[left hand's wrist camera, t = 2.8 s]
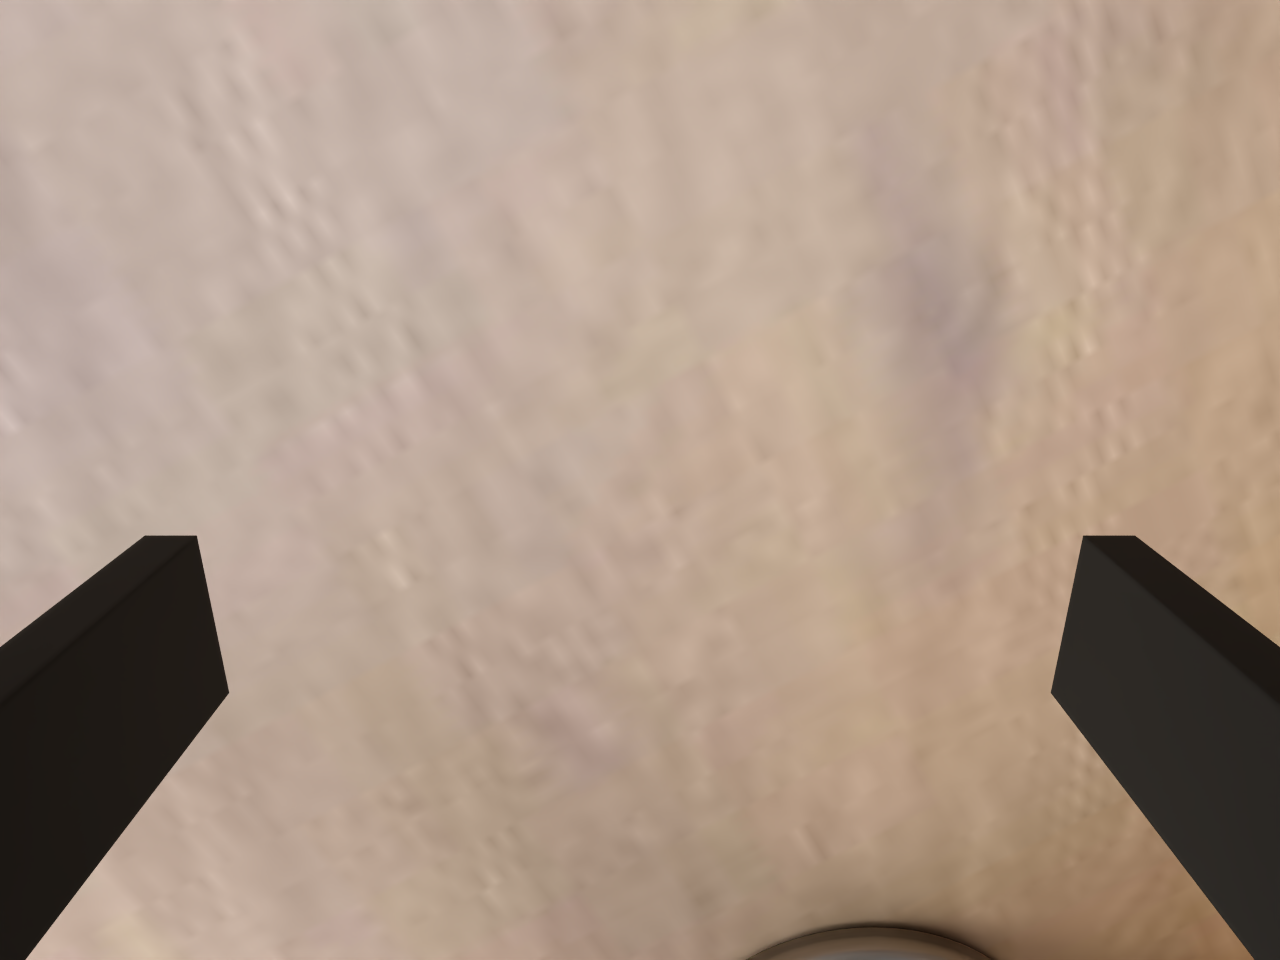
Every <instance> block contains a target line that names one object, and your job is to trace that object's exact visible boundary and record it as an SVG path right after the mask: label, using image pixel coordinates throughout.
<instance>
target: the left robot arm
mask: <svg viewBox="0 0 1280 960" xmlns="http://www.w3.org/2000/svg"><path fill="white" fill-rule="evenodd" d="M228 694H229V690H228V685H227V680H226V675H225V670H224V666H223V661H222V656H221V651H220V646H219V641H218V637H217V632H216V627H215V622H214V617H213V612H212V607H211V603H210V598H209V593H208V588H207V583H206V578H205V573H204V569H203V564H202V559H201V554H200V549H199V544H198V540H197V536H144V537H143V538H141V539H140V540H139V541H137V542H136V543H135V544H134V545H132V546H131V547H130V548H128V549H127V550H126V551H124V552H123V553H122V554H121V555H119V556H118V557H117V558H115V559H114V560H113V561H111V562H110V563H109V564H108V565H106V566H105V567H104V568H102V569H101V570H100V571H98V572H97V573H96V574H95V575H93V576H92V577H91V578H89V579H88V580H87V581H85V582H84V583H83V584H82V585H80V586H79V587H78V588H76V589H75V590H74V591H73V592H71V593H70V594H69V595H67V596H66V597H65V598H63V599H62V600H61V601H60V602H58V603H57V604H56V605H54V606H53V607H52V608H50V609H49V610H48V611H47V612H45V613H44V614H43V615H41V616H40V617H39V618H37V619H36V620H35V621H34V622H32V623H31V624H30V625H28V626H27V627H26V628H24V629H23V630H22V631H21V632H19V633H18V634H17V635H15V636H14V637H13V638H11V639H10V640H9V641H8V642H6V643H5V644H4V645H2V646H1V647H0V960H26V958H27V957H28V956H29V954H30V953H31V952H32V950H33V949H34V948H35V946H36V945H37V944H38V942H39V941H40V940H41V939H42V937H43V936H44V935H45V933H46V932H47V931H48V929H49V928H50V927H51V925H52V924H53V923H54V922H55V920H56V919H57V918H58V916H59V915H60V914H61V912H62V911H63V910H64V908H65V907H66V906H67V905H68V903H69V902H70V901H71V899H72V898H73V897H74V895H75V894H76V893H77V891H78V890H79V889H80V887H81V886H82V885H83V884H84V882H85V881H86V880H87V878H88V877H89V876H90V874H91V873H92V872H93V870H94V869H95V868H96V867H97V865H98V864H99V863H100V861H101V860H102V859H103V857H104V856H105V855H106V853H107V852H108V851H109V849H110V848H111V847H112V846H113V844H114V843H115V842H116V840H117V839H118V838H119V836H120V835H121V834H122V832H123V831H124V830H125V829H126V827H127V826H128V825H129V823H130V822H131V821H132V819H133V818H134V817H135V815H136V814H137V813H138V811H139V810H140V809H141V808H142V806H143V805H144V804H145V802H146V801H147V800H148V798H149V797H150V796H151V794H152V793H153V792H154V791H155V789H156V788H157V787H158V785H159V784H160V783H161V781H162V780H163V779H164V777H165V776H166V775H167V773H168V772H169V771H170V770H171V768H172V767H173V766H174V764H175V763H176V762H177V760H178V759H179V758H180V756H181V755H182V754H183V753H184V751H185V750H186V749H187V747H188V746H189V745H190V743H191V742H192V741H193V739H194V738H195V737H196V735H197V734H198V733H199V732H200V730H201V729H202V728H203V726H204V725H205V724H206V722H207V721H208V720H209V718H210V717H211V716H212V715H213V713H214V712H215V711H216V709H217V708H218V707H219V705H220V704H221V703H222V701H223V700H224V699H225V697H226V696H227V695H228ZM1051 694H1052V695H1053V696H1054V697H1055V699H1056V700H1057V701H1058V703H1059V704H1060V705H1061V707H1062V708H1063V709H1064V711H1065V712H1066V713H1067V715H1068V716H1069V717H1070V718H1071V720H1072V721H1073V722H1074V724H1075V725H1076V726H1077V728H1078V729H1079V730H1080V732H1081V733H1082V734H1083V735H1084V737H1085V738H1086V739H1087V741H1088V742H1089V743H1090V745H1091V746H1092V747H1093V749H1094V750H1095V751H1096V753H1097V754H1098V755H1099V756H1100V758H1101V759H1102V760H1103V762H1104V763H1105V764H1106V766H1107V767H1108V768H1109V770H1110V771H1111V772H1112V773H1113V775H1114V776H1115V777H1116V779H1117V780H1118V781H1119V783H1120V784H1121V785H1122V787H1123V788H1124V789H1125V791H1126V792H1127V793H1128V794H1129V796H1130V797H1131V798H1132V800H1133V801H1134V802H1135V804H1136V805H1137V806H1138V808H1139V809H1140V810H1141V811H1142V813H1143V814H1144V815H1145V817H1146V818H1147V819H1148V821H1149V822H1150V823H1151V825H1152V826H1153V827H1154V829H1155V830H1156V831H1157V832H1158V834H1159V835H1160V836H1161V838H1162V839H1163V840H1164V842H1165V843H1166V844H1167V846H1168V847H1169V848H1170V849H1171V851H1172V852H1173V853H1174V855H1175V856H1176V857H1177V859H1178V860H1179V861H1180V863H1181V864H1182V865H1183V867H1184V868H1185V869H1186V870H1187V872H1188V873H1189V874H1190V876H1191V877H1192V878H1193V880H1194V881H1195V882H1196V884H1197V885H1198V886H1199V887H1200V889H1201V890H1202V891H1203V893H1204V894H1205V895H1206V897H1207V898H1208V899H1209V901H1210V902H1211V903H1212V905H1213V906H1214V907H1215V908H1216V910H1217V911H1218V912H1219V914H1220V915H1221V916H1222V918H1223V919H1224V920H1225V922H1226V923H1227V924H1228V925H1229V927H1230V928H1231V929H1232V931H1233V932H1234V933H1235V935H1236V936H1237V937H1238V939H1239V940H1240V941H1241V942H1242V944H1243V945H1244V946H1245V948H1246V949H1247V950H1248V952H1249V953H1250V954H1251V956H1252V957H1253V958H1254V960H1280V647H1279V646H1278V645H1276V644H1275V643H1274V642H1272V641H1271V640H1270V639H1269V638H1267V637H1266V636H1265V635H1263V634H1262V633H1261V632H1259V631H1258V630H1257V629H1256V628H1254V627H1253V626H1252V625H1250V624H1249V623H1248V622H1246V621H1245V620H1244V619H1243V618H1241V617H1240V616H1239V615H1237V614H1236V613H1235V612H1233V611H1232V610H1231V609H1230V608H1228V607H1227V606H1226V605H1224V604H1223V603H1222V602H1220V601H1219V600H1218V599H1217V598H1215V597H1214V596H1213V595H1211V594H1210V593H1209V592H1207V591H1206V590H1205V589H1204V588H1202V587H1201V586H1200V585H1198V584H1197V583H1196V582H1195V581H1193V580H1192V579H1191V578H1189V577H1188V576H1187V575H1185V574H1184V573H1183V572H1182V571H1180V570H1179V569H1178V568H1176V567H1175V566H1174V565H1172V564H1171V563H1170V562H1169V561H1167V560H1166V559H1165V558H1163V557H1162V556H1161V555H1159V554H1158V553H1157V552H1156V551H1154V550H1153V549H1152V548H1150V547H1149V546H1148V545H1146V544H1145V543H1144V542H1143V541H1141V540H1140V539H1139V538H1137V537H1136V536H1083V540H1082V544H1081V549H1080V554H1079V559H1078V564H1077V569H1076V573H1075V578H1074V583H1073V588H1072V593H1071V598H1070V603H1069V607H1068V612H1067V617H1066V622H1065V627H1064V632H1063V637H1062V641H1061V646H1060V651H1059V656H1058V661H1057V666H1056V670H1055V675H1054V680H1053V685H1052V690H1051ZM747 960H991V959H990V958H988V957H986V956H985V955H983V954H982V953H980V952H978V951H976V950H974V949H972V948H970V947H968V946H966V945H964V944H961V943H958V942H956V941H953V940H950V939H948V938H944V937H940V936H937V935H933V934H929V933H924V932H919V931H914V930H906V929H897V928H879V927H868V928H849V929H840V930H832V931H827V932H821V933H816V934H812V935H808V936H804V937H800V938H796V939H794V940H791V941H788V942H785V943H782V944H779V945H776V946H774V947H772V948H769V949H767V950H765V951H762V952H760V953H758V954H756V955H755V956H753V957H751V958H749V959H747Z"/></svg>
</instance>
